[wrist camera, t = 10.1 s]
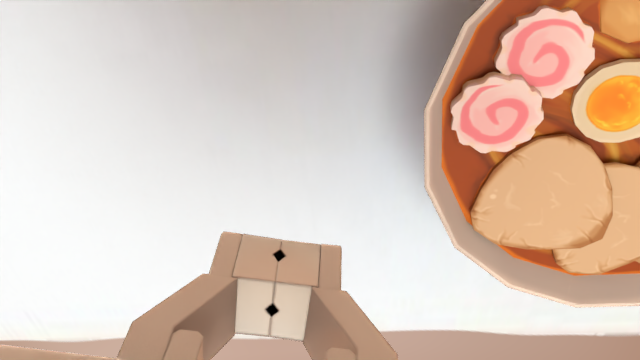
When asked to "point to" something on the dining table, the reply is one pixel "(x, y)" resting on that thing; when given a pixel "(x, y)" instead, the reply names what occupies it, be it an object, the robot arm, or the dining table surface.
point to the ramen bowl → (543, 147)
